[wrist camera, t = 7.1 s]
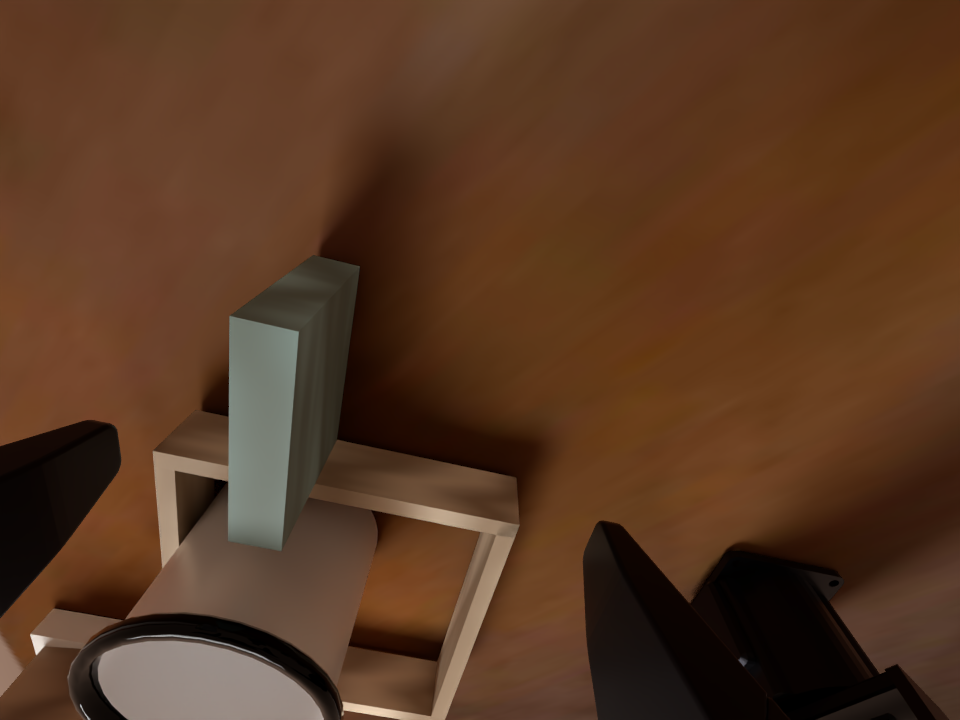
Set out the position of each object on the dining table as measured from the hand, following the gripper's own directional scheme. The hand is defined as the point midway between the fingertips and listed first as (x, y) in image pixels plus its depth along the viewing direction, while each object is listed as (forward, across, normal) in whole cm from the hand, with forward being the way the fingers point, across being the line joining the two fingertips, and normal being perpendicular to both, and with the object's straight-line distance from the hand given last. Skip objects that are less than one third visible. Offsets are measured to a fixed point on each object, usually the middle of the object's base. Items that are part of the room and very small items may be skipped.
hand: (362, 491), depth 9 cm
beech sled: (+11, +2, +12) cm, 16 cm away
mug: (+12, +6, +15) cm, 20 cm away
